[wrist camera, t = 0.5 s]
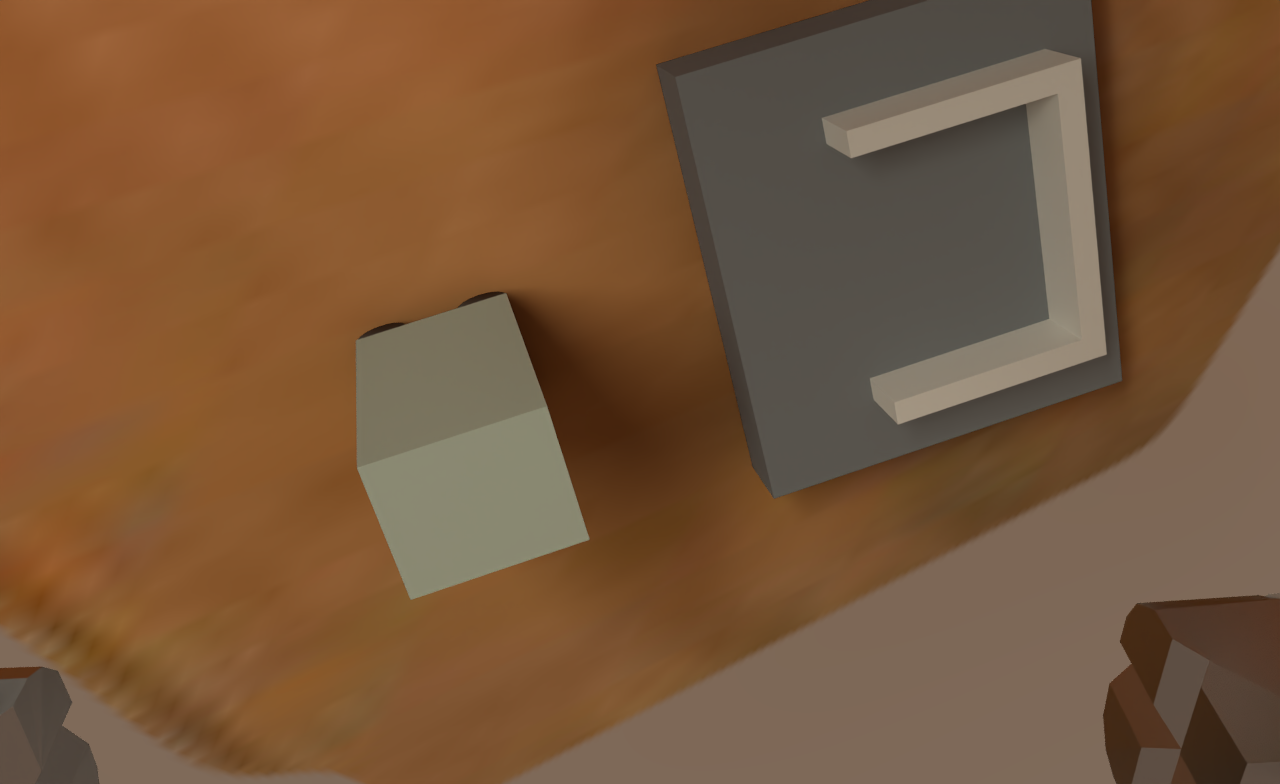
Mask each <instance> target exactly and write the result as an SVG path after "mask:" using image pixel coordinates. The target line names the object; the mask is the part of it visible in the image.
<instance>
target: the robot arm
mask: <svg viewBox="0 0 1280 784" xmlns="http://www.w3.org/2000/svg"><path fill="white" fill-rule="evenodd" d="M1120 643H1121V644H1122V646H1123V648H1124V650H1125V652H1126V654H1127V656H1128V658H1129V660H1130V661H1131V663H1132V664H1131V665H1130V666H1128V668H1126V669H1125V670H1124V671H1123V672H1122V673H1121V674H1120V675H1118V676H1117V677H1116V678H1115V679H1114V680H1113V681H1112V682H1111V683H1110V684H1109V689H1108V694H1107V699H1106V704H1105V709H1104V714H1103V719H1104V733H1105V746H1106V752H1107V756H1108V759H1109V763H1110V767H1111V770H1112V774H1113V777H1114V779H1115V781H1116V784H1280V593H1277V594H1268V595H1266V596H1259V595H1256V596H1239V597H1224V598H1209V599H1195V600H1179V601H1164V602H1150V603H1137V604H1136V605H1135V606H1134V608H1133V609H1132V610H1131V612H1130V613H1129V614H1128V616H1127V617H1126V621H1125V624H1124V628H1123V632H1122V635H1121V640H1120ZM71 704H72V701H71V699H70V696H69V694H68V692H67V690H66V688H65V685H64V683H63V681H62V679H61V677H60V674H59V672H58V671H56V670H52V669H49V668H45V667H18V668H0V784H99V779H98V771H97V765H96V762H95V760H94V757H93V754H92V752H91V749H90V746H89V744H88V743H87V742H85V741H84V740H82V739H81V738H79V737H78V736H76V735H75V734H74V733H72V732H71V731H69V730H68V729H66V728H65V727H63V726H62V724H63V722H64V719H65V717H66V715H67V713H68V711H69V708H70V706H71Z"/></svg>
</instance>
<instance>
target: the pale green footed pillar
mask: <svg viewBox="0 0 1280 784" xmlns="http://www.w3.org/2000/svg"><path fill="white" fill-rule="evenodd" d="M356 407H357V469H358V471H359V474H360V476H361V479H362V481H363V484H364V486H365V489H366V491H367V493H368V496H369V498H370V501H371V503H372V506H373V508H374V511H375V513H376V516H377V518H378V521H379V523H380V525H381V528H382V530H383V533H384V535H385V538H386V540H387V543H388V545H389V548H390V550H391V552H392V555H393V557H394V560H395V562H396V565H397V567H398V570H399V572H400V575H401V577H402V580H403V582H404V584H405V587H406V589H407V592H408V594H409V597H410V599H411V600H412V599H415V598H418V597H421V596H424V595H426V594H429V593H432V592H435V591H438V590H441V589H444V588H447V587H450V586H453V585H456V584H459V583H462V582H465V581H468V580H471V579H474V578H477V577H480V576H483V575H486V574H489V573H492V572H495V571H498V570H501V569H504V568H507V567H510V566H513V565H516V564H519V563H522V562H524V561H527V560H530V559H533V558H536V557H539V556H542V555H545V554H548V553H551V552H554V551H557V550H560V549H563V548H566V547H569V546H572V545H575V544H578V543H581V542H584V541H587V540H590V539H589V536H588V533H587V530H586V527H585V524H584V520H583V517H582V514H581V511H580V508H579V505H578V502H577V498H576V495H575V492H574V489H573V486H572V483H571V480H570V477H569V473H568V470H567V467H566V464H565V461H564V458H563V455H562V451H561V448H560V445H559V442H558V439H557V436H556V433H555V429H554V426H553V423H552V420H551V417H550V414H549V411H548V407H547V405H546V402H545V399H544V396H543V393H542V391H541V388H540V385H539V382H538V380H537V377H536V374H535V371H534V369H533V366H532V363H531V360H530V358H529V355H528V352H527V349H526V347H525V344H524V341H523V338H522V335H521V333H520V330H519V327H518V324H517V322H516V319H515V316H514V313H513V311H512V308H511V305H510V302H509V300H508V297H507V294H506V293H503V292H490V293H485V294H481V295H478V296H475V297H473V298H470V299H468V300H467V301H465V302H463V303H462V304H461V305H460V306H459V307H458V308H457V309H454V310H450V311H447V312H444V313H441V314H438V315H435V316H431V317H428V318H425V319H422V320H419V321H416V322H412V323H409V324H404V323H391V324H386V325H383V326H379V327H377V328H374V329H372V330H370V331H368V332H366V333H365V334H363V335H362V336H361V337H360V338H359V339H358V340H356Z"/></svg>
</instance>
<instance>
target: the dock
mask: <svg viewBox="0 0 1280 784" xmlns="http://www.w3.org/2000/svg"><path fill="white" fill-rule="evenodd" d="M656 66H657V70H658V74H659V78H660V83H661V87H662V91H663V95H664V99H665V103H666V108H667V112H668V116H669V120H670V124H671V128H672V133H673V137H674V141H675V145H676V149H677V153H678V157H679V162H680V166H681V170H682V174H683V178H684V182H685V187H686V191H687V195H688V199H689V203H690V207H691V212H692V216H693V220H694V224H695V228H696V232H697V237H698V241H699V245H700V249H701V253H702V257H703V262H704V266H705V270H706V274H707V278H708V282H709V287H710V291H711V295H712V299H713V303H714V307H715V312H716V316H717V320H718V324H719V328H720V332H721V337H722V341H723V345H724V349H725V353H726V357H727V361H728V366H729V370H730V374H731V378H732V382H733V386H734V391H735V395H736V399H737V403H738V407H739V411H740V416H741V420H742V424H743V428H744V432H745V436H746V441H747V445H748V449H749V453H750V457H751V461H752V466H753V468H754V469H755V471H756V472H757V474H758V475H759V477H760V478H761V480H762V481H763V483H764V484H765V486H766V487H767V489H768V490H769V492H770V493H771V495H772V496H773V498H777V497H780V496H783V495H786V494H789V493H792V492H795V491H798V490H801V489H804V488H807V487H810V486H813V485H816V484H819V483H822V482H825V481H828V480H831V479H833V478H836V477H839V476H842V475H845V474H848V473H851V472H854V471H857V470H860V469H863V468H866V467H869V466H872V465H875V464H878V463H881V462H884V461H887V460H890V459H893V458H896V457H898V456H901V455H904V454H907V453H910V452H913V451H916V450H919V449H922V448H925V447H928V446H931V445H934V444H937V443H940V442H943V441H946V440H949V439H952V438H955V437H958V436H961V435H963V434H966V433H969V432H972V431H975V430H978V429H981V428H984V427H987V426H990V425H993V424H996V423H999V422H1002V421H1005V420H1008V419H1011V418H1014V417H1017V416H1020V415H1023V414H1026V413H1028V412H1031V411H1034V410H1037V409H1040V408H1043V407H1046V406H1049V405H1052V404H1055V403H1058V402H1061V401H1064V400H1067V399H1070V398H1073V397H1076V396H1079V395H1082V394H1085V393H1088V392H1091V391H1093V390H1096V389H1099V388H1102V387H1105V386H1108V385H1111V384H1114V383H1117V382H1120V381H1122V372H1121V360H1120V348H1119V336H1118V324H1117V311H1116V299H1115V287H1114V275H1113V262H1112V250H1111V238H1110V226H1109V214H1108V201H1107V189H1106V177H1105V165H1104V152H1103V140H1102V128H1101V116H1100V104H1099V91H1098V79H1097V67H1096V55H1095V42H1094V30H1093V18H1092V6H1091V0H869V1H866V2H863V3H859V4H856V5H853V6H849V7H846V8H843V9H839V10H836V11H833V12H829V13H826V14H823V15H819V16H816V17H813V18H810V19H806V20H803V21H800V22H796V23H793V24H790V25H786V26H783V27H780V28H776V29H773V30H770V31H766V32H763V33H760V34H756V35H753V36H750V37H746V38H743V39H740V40H736V41H733V42H730V43H727V44H723V45H720V46H717V47H713V48H710V49H707V50H703V51H700V52H697V53H693V54H690V55H687V56H683V57H680V58H677V59H673V60H670V61H667V62H663V63H660V64H657V65H656Z"/></svg>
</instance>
